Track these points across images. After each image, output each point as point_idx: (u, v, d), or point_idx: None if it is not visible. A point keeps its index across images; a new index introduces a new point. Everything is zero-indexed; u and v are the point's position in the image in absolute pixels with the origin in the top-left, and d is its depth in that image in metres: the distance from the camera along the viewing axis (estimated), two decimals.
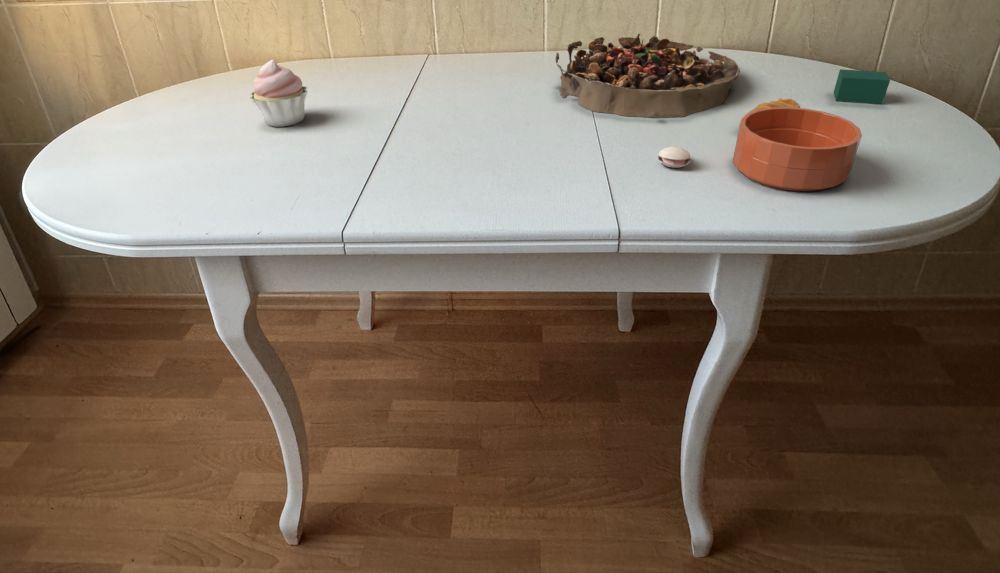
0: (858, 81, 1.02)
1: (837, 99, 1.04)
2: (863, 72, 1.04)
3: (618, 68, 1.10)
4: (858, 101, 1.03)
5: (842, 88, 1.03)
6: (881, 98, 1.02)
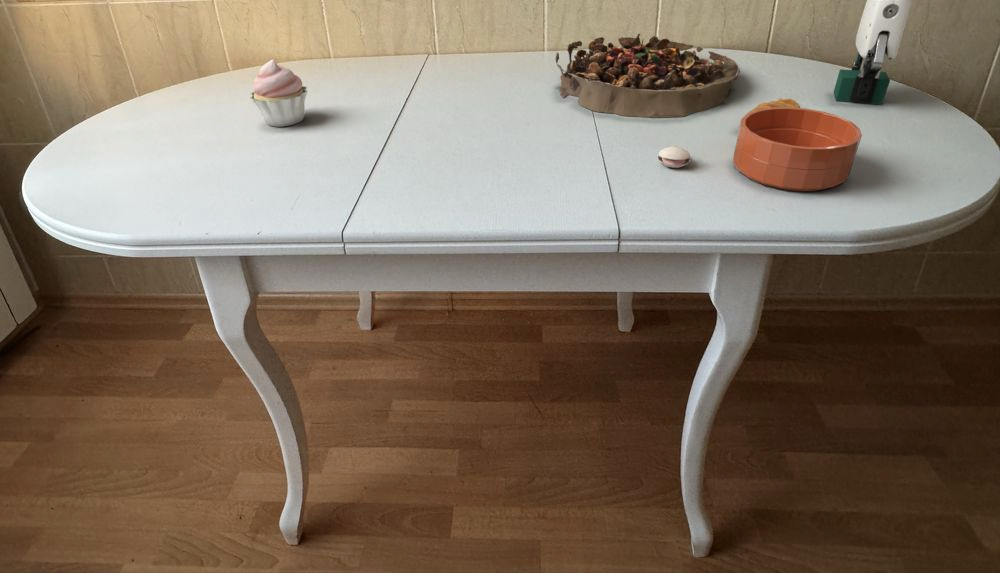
0: None
1: (837, 99, 1.04)
2: None
3: (618, 68, 1.10)
4: None
5: (842, 88, 1.03)
6: (881, 98, 1.02)
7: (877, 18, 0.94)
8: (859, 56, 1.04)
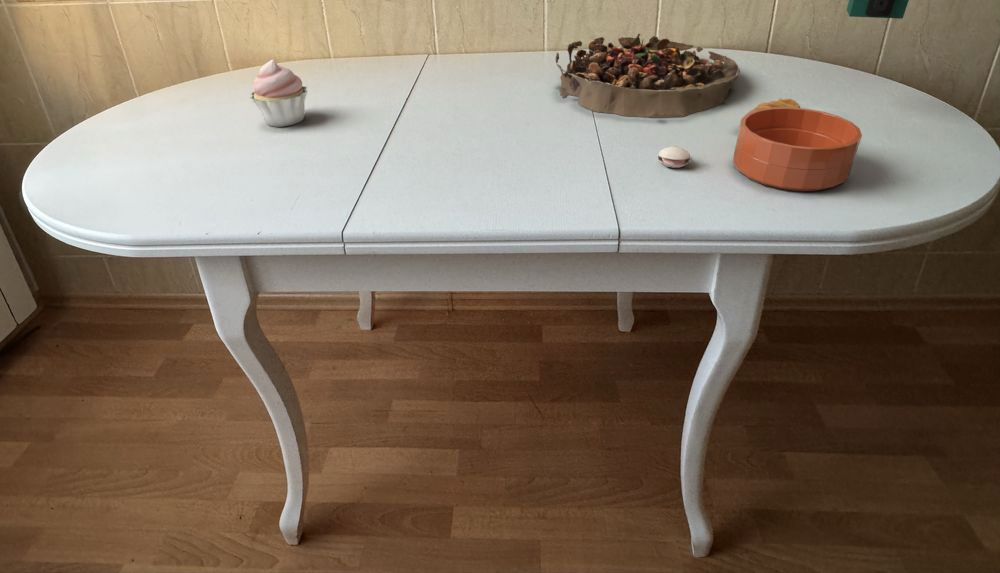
0: None
1: (851, 14, 0.91)
2: None
3: (618, 68, 1.10)
4: (875, 16, 0.90)
5: (856, 0, 0.90)
6: (901, 11, 0.89)
7: None
8: None
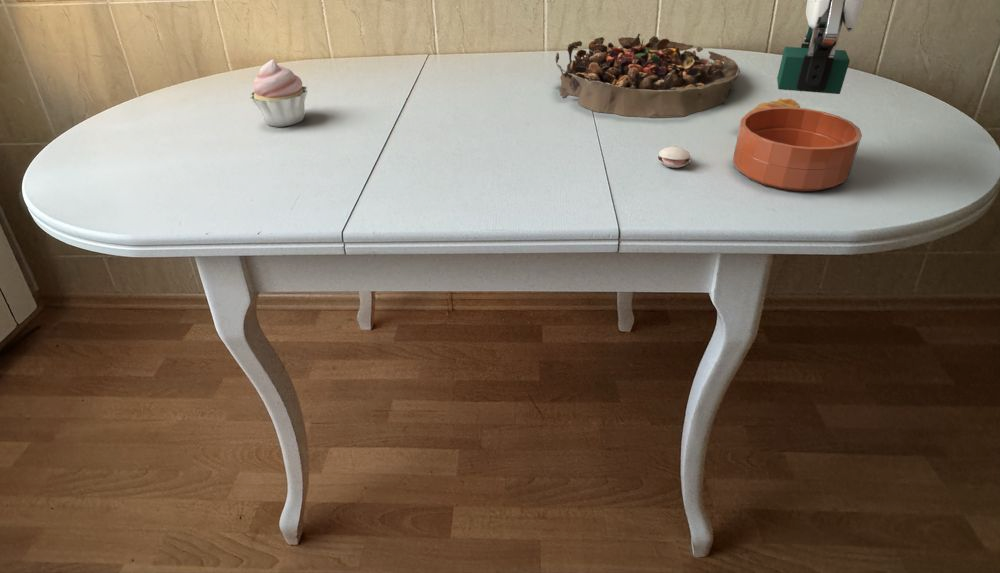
0: None
1: (780, 87, 0.77)
2: None
3: (618, 68, 1.10)
4: None
5: (786, 71, 0.75)
6: (838, 86, 0.74)
7: None
8: (810, 29, 0.76)
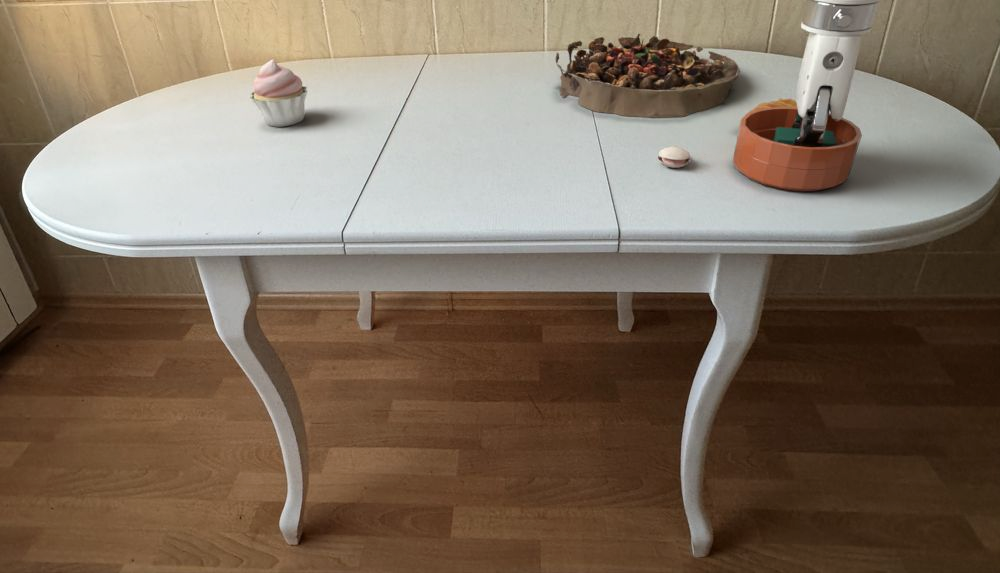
0: None
1: None
2: None
3: (618, 68, 1.10)
4: None
5: None
6: None
7: (817, 69, 0.72)
8: None
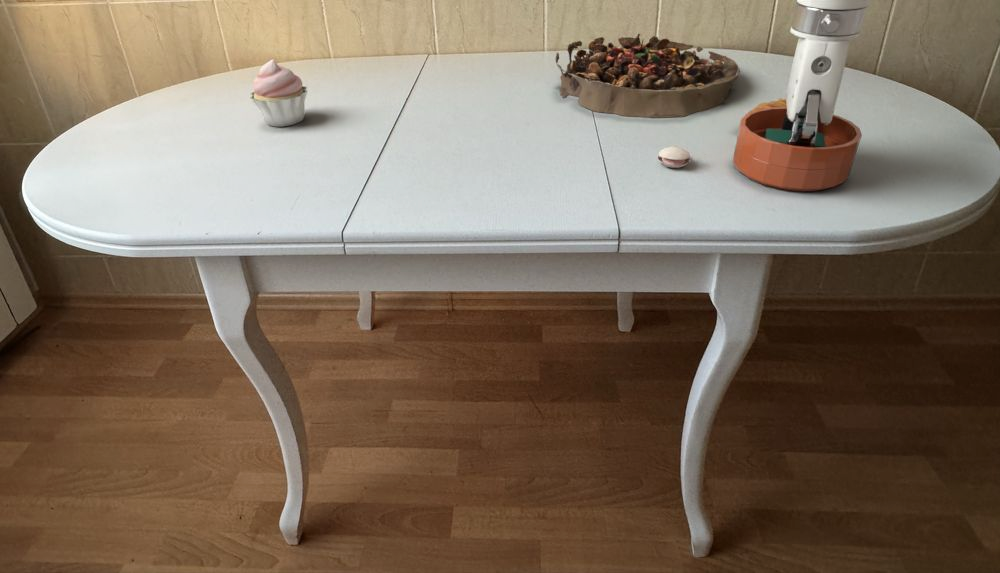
0: None
1: None
2: None
3: (618, 68, 1.10)
4: None
5: None
6: None
7: (805, 74, 0.73)
8: None
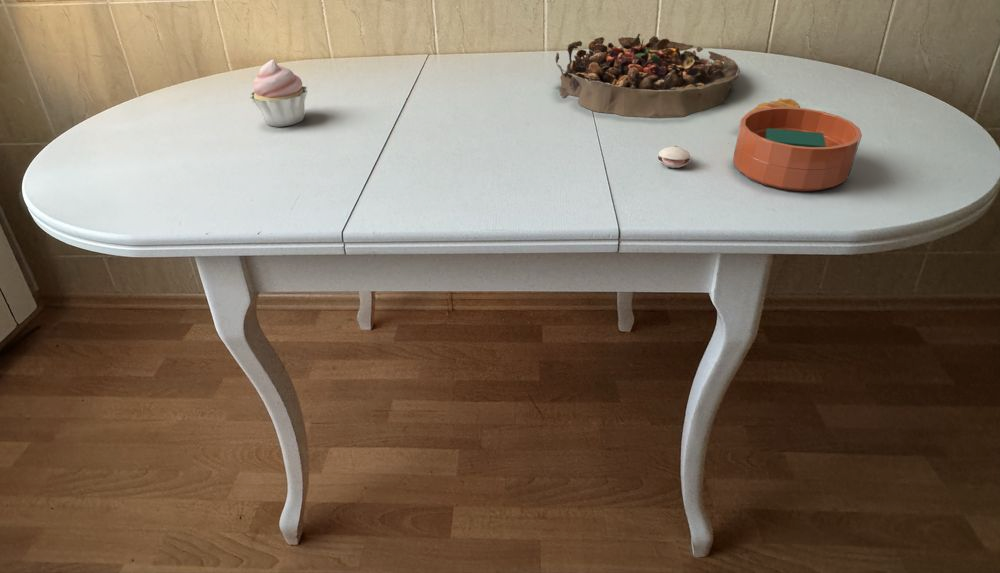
0: None
1: None
2: (794, 133, 0.82)
3: (618, 68, 1.10)
4: None
5: None
6: None
7: None
8: None
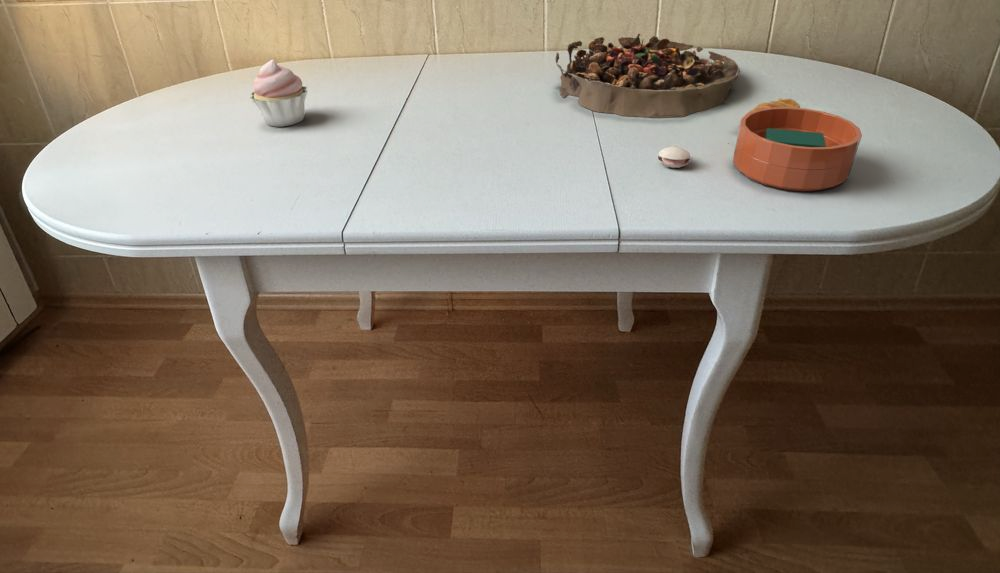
0: None
1: None
2: (794, 133, 0.82)
3: (618, 68, 1.10)
4: None
5: None
6: None
7: None
8: None
